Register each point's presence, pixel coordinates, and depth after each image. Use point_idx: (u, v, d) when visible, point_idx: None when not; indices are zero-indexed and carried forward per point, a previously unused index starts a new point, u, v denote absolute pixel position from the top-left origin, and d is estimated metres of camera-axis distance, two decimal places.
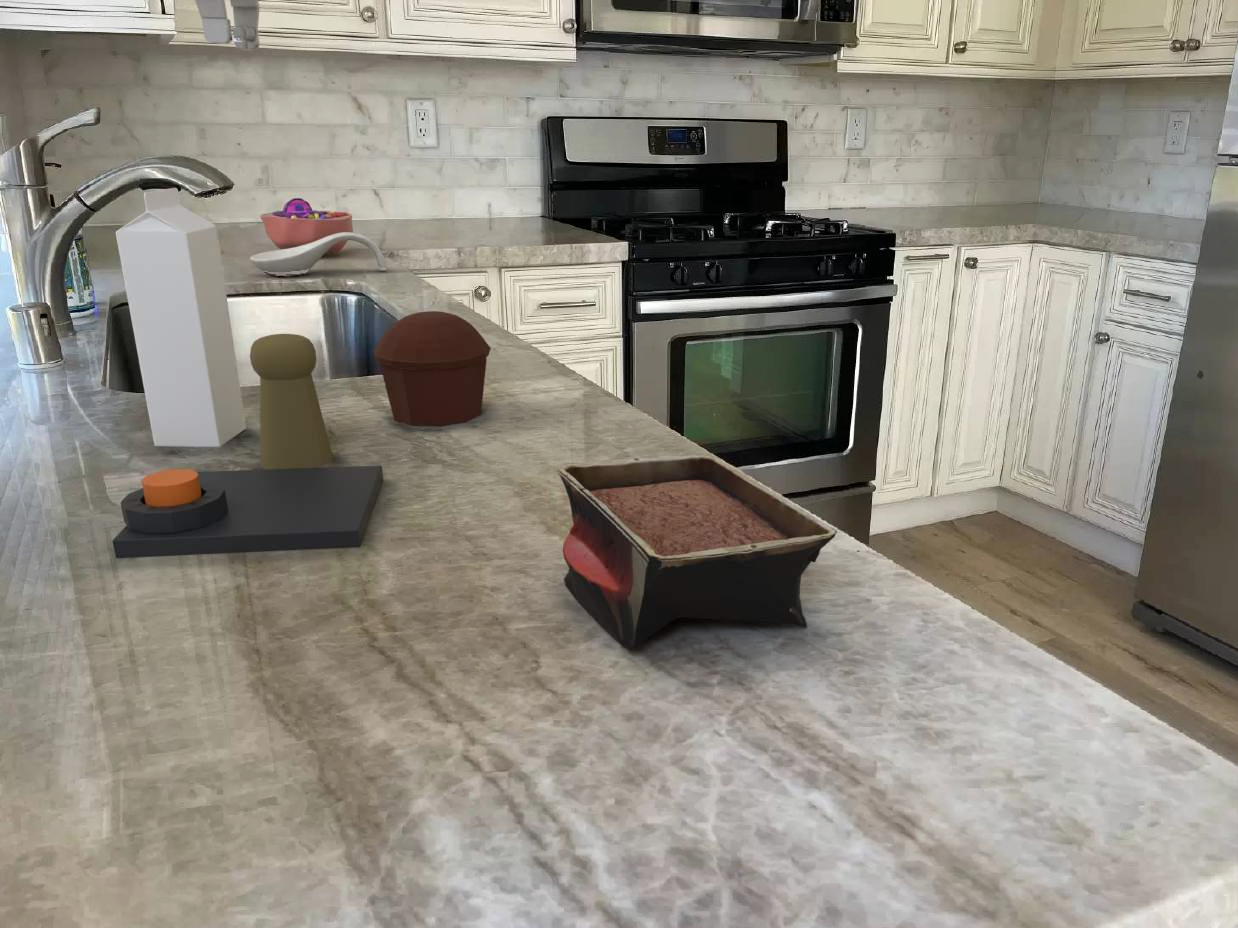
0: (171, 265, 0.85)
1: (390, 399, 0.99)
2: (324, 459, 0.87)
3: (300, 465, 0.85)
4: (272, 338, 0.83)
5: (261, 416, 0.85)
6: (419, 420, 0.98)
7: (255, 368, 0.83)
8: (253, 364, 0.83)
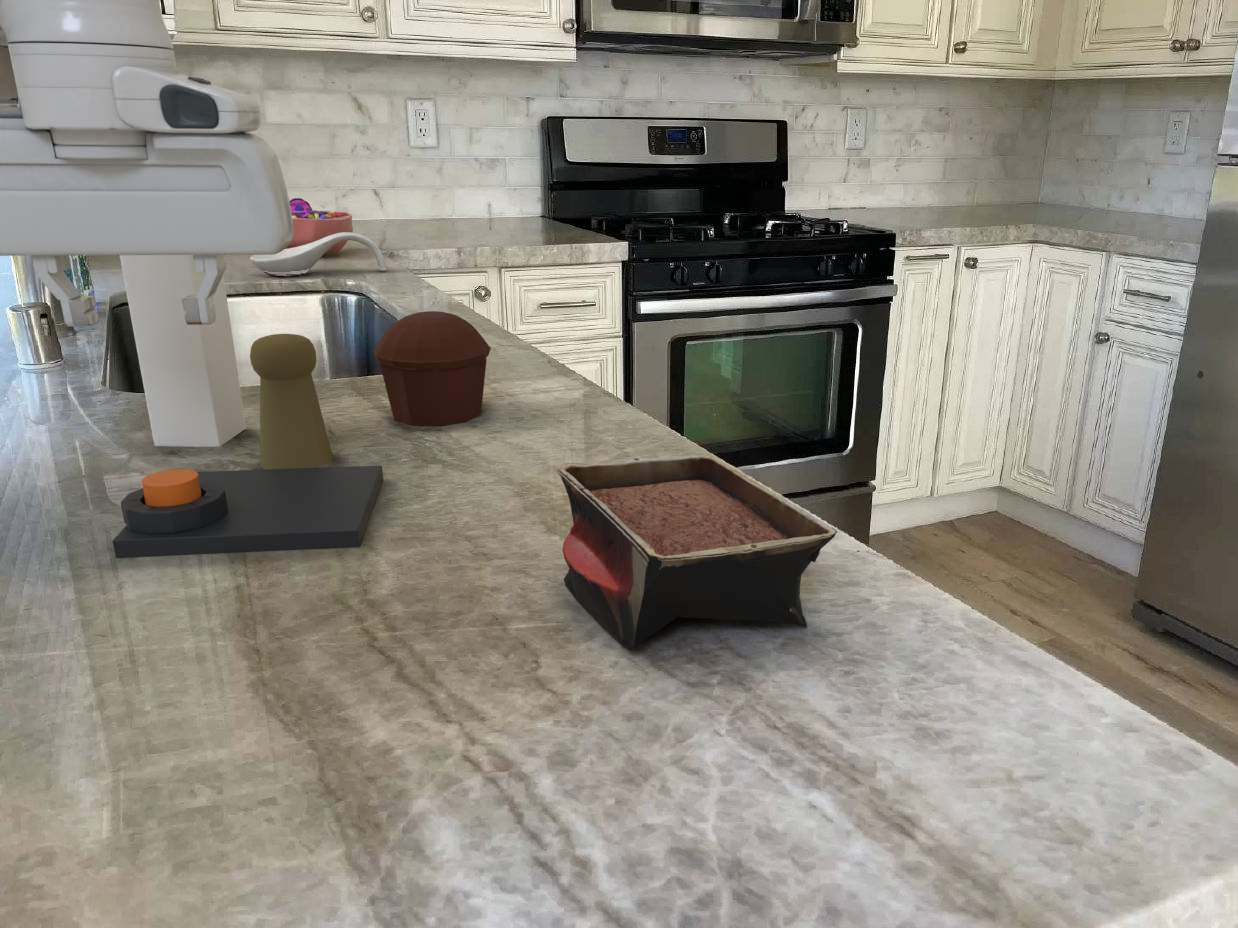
0: (171, 265, 0.85)
1: (390, 399, 0.99)
2: (324, 459, 0.87)
3: (300, 465, 0.85)
4: (272, 338, 0.83)
5: (261, 416, 0.85)
6: (419, 420, 0.98)
7: (255, 368, 0.83)
8: (253, 364, 0.83)
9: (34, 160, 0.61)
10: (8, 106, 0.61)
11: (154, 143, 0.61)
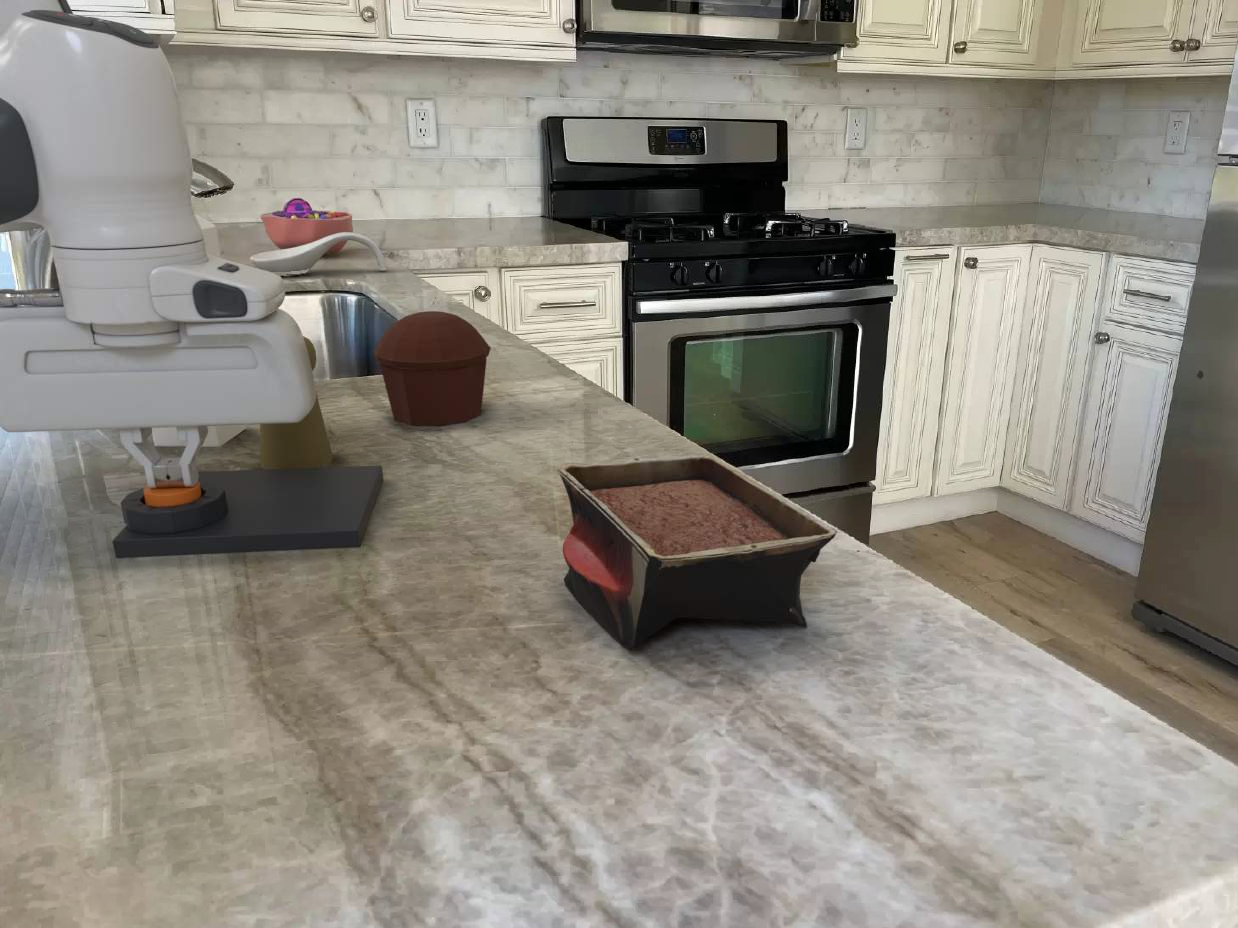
0: None
1: (390, 399, 0.99)
2: (324, 459, 0.87)
3: (300, 465, 0.85)
4: None
5: None
6: (419, 420, 0.98)
7: None
8: None
9: (74, 346, 0.65)
10: (50, 296, 0.65)
11: (187, 330, 0.65)
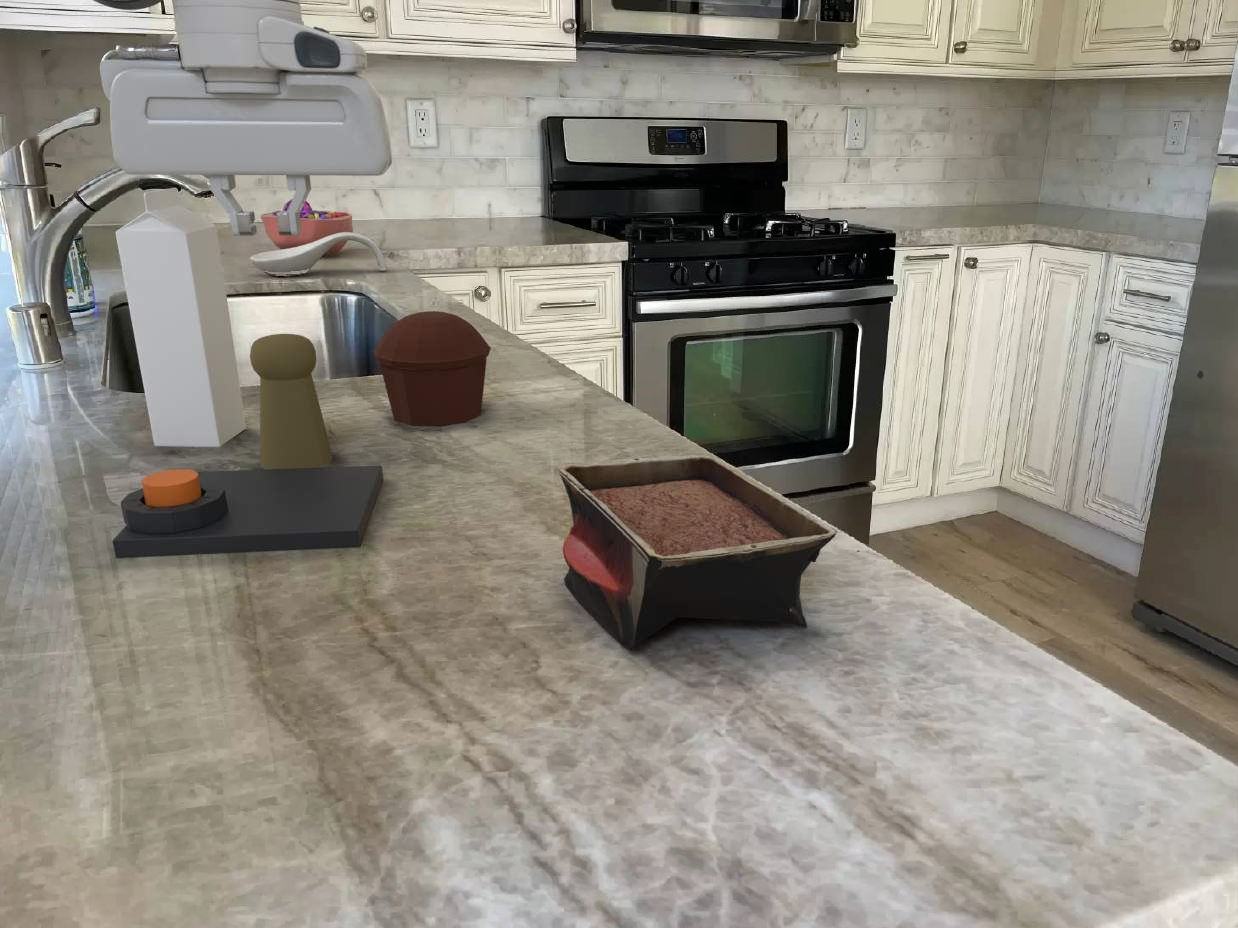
0: (171, 264, 0.85)
1: (390, 399, 0.99)
2: (324, 459, 0.87)
3: (300, 465, 0.85)
4: (272, 338, 0.83)
5: (261, 416, 0.85)
6: (419, 420, 0.98)
7: (255, 368, 0.83)
8: (253, 364, 0.83)
9: (189, 94, 0.75)
10: (168, 50, 0.75)
11: (287, 80, 0.75)
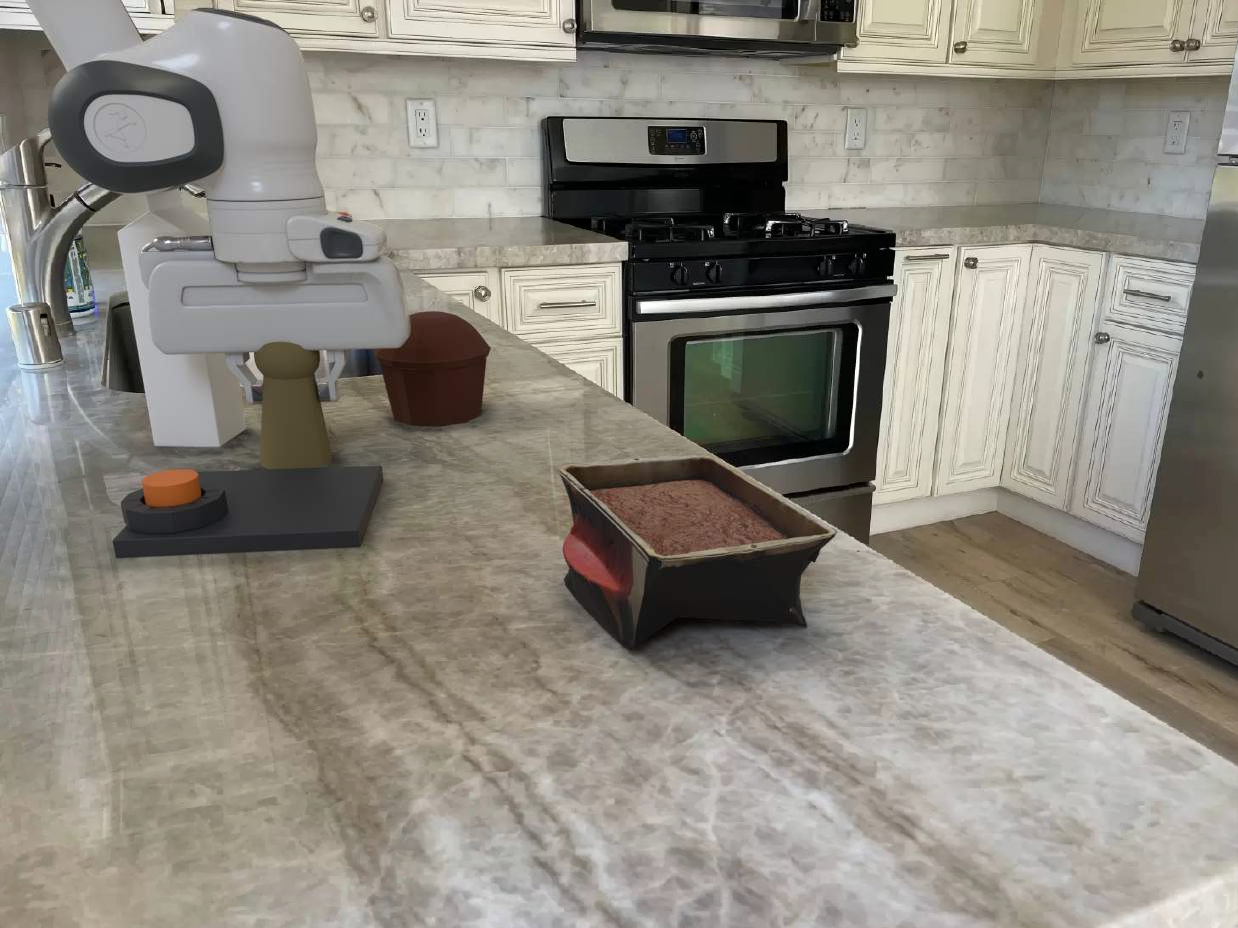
0: None
1: (390, 399, 0.99)
2: (324, 459, 0.87)
3: (299, 465, 0.85)
4: None
5: (263, 414, 0.85)
6: (419, 420, 0.98)
7: (259, 366, 0.83)
8: (257, 362, 0.83)
9: (221, 283, 0.80)
10: (202, 242, 0.80)
11: (313, 269, 0.80)
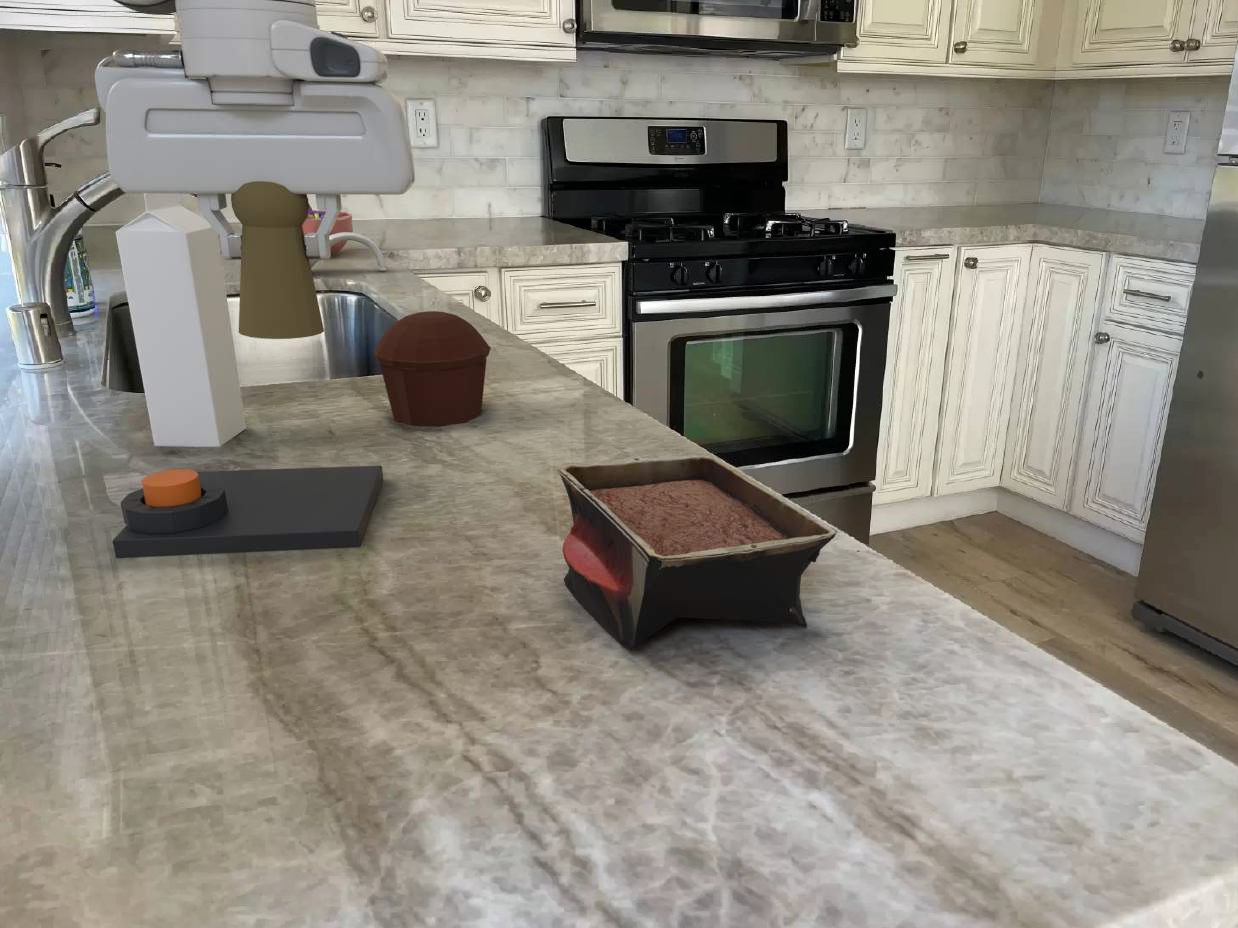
0: (171, 265, 0.85)
1: (390, 399, 0.99)
2: (314, 328, 0.75)
3: (285, 331, 0.73)
4: None
5: (242, 271, 0.73)
6: (419, 420, 0.98)
7: (236, 212, 0.71)
8: (234, 207, 0.71)
9: (193, 106, 0.68)
10: (170, 57, 0.68)
11: (301, 90, 0.68)
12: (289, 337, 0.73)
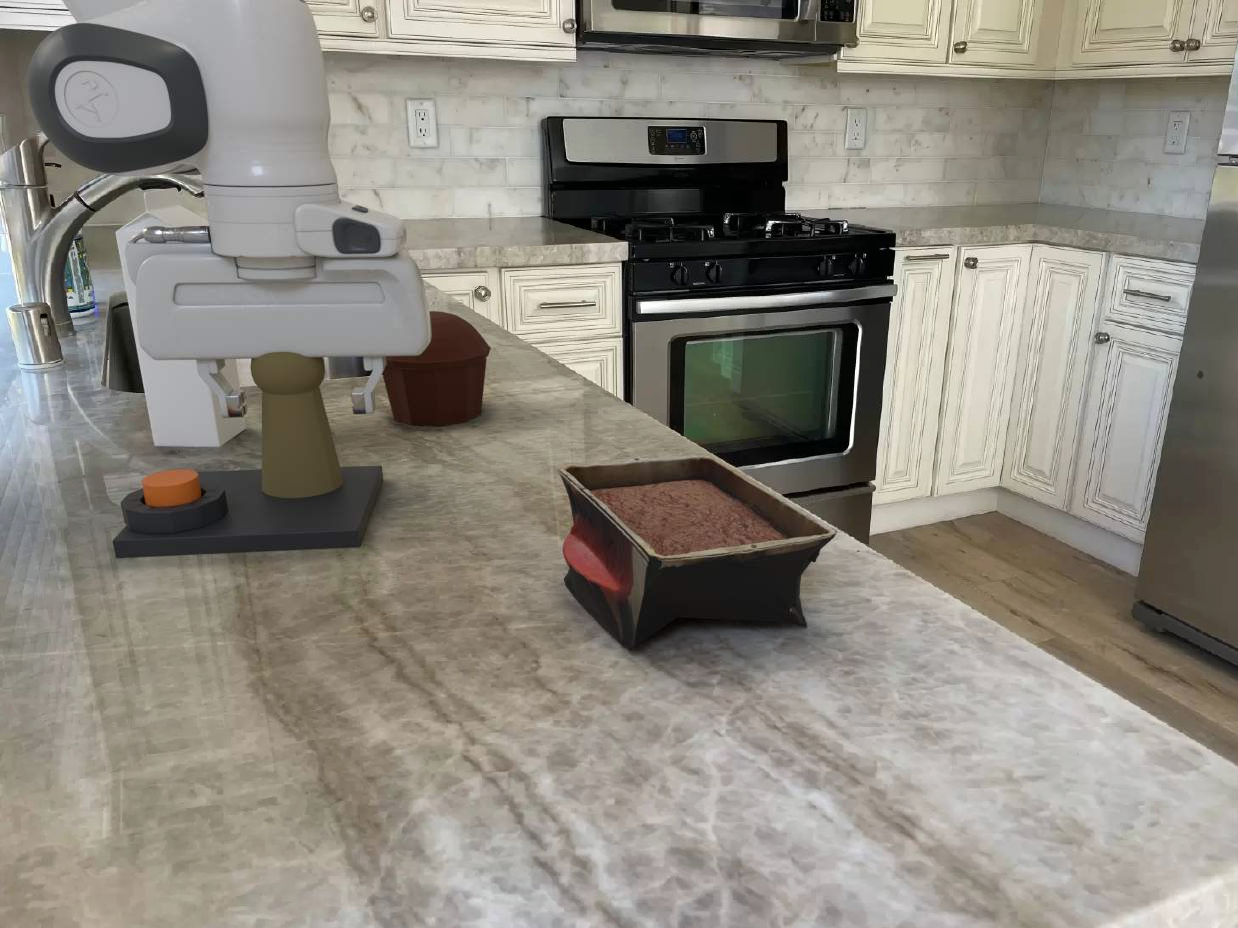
0: None
1: (390, 399, 0.99)
2: (334, 482, 0.78)
3: (306, 490, 0.76)
4: None
5: (263, 435, 0.76)
6: (419, 420, 0.98)
7: (256, 381, 0.74)
8: (254, 376, 0.74)
9: (219, 280, 0.71)
10: (198, 233, 0.71)
11: (324, 265, 0.71)
12: (311, 495, 0.76)
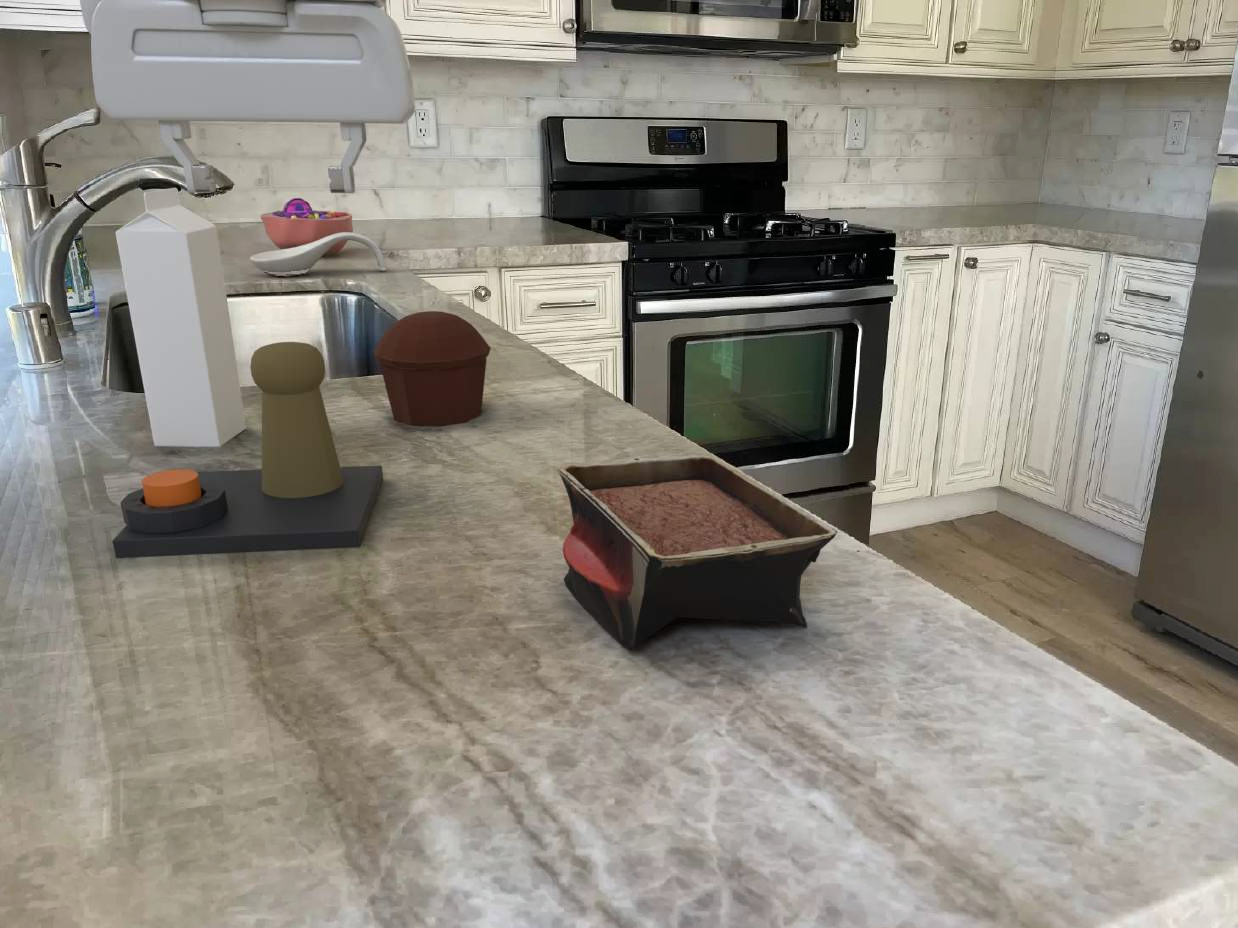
0: (171, 264, 0.85)
1: (390, 399, 0.99)
2: (334, 482, 0.78)
3: (306, 490, 0.76)
4: (275, 347, 0.74)
5: (263, 435, 0.76)
6: (419, 420, 0.98)
7: (256, 381, 0.74)
8: (254, 376, 0.74)
9: (182, 26, 0.65)
10: None
11: (296, 9, 0.65)
12: (311, 495, 0.76)
